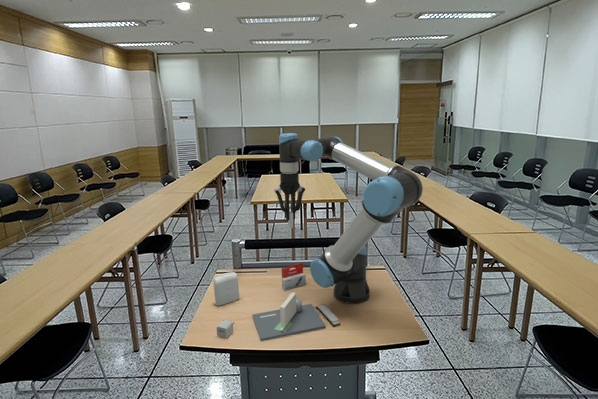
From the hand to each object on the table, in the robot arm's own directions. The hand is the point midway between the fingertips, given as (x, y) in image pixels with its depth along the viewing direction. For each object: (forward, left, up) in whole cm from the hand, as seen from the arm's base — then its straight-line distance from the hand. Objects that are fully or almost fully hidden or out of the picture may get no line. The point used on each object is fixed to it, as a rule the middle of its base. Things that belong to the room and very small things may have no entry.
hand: (290, 226), depth 159 cm
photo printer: (+29, +2, -29) cm, 41 cm away
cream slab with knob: (+8, +25, -27) cm, 38 cm away
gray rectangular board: (+9, +25, -28) cm, 39 cm away
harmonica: (-7, +26, -29) cm, 40 cm away
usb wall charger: (+31, +24, -29) cm, 49 cm away
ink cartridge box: (-1, -1, -29) cm, 29 cm away
